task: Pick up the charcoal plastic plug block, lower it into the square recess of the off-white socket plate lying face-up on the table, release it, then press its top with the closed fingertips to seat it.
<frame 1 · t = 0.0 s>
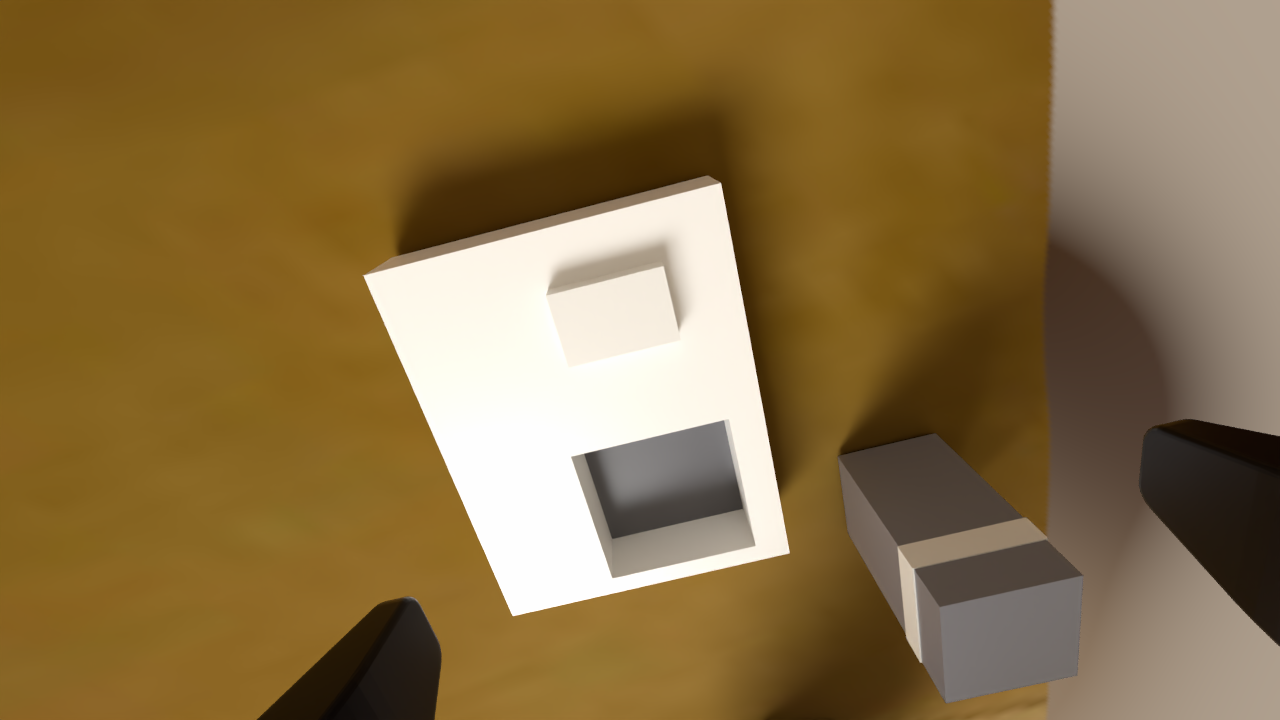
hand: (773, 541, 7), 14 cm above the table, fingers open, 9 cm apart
plug: (890, 484, 25), on the table
socket plate: (602, 398, 22), on the table
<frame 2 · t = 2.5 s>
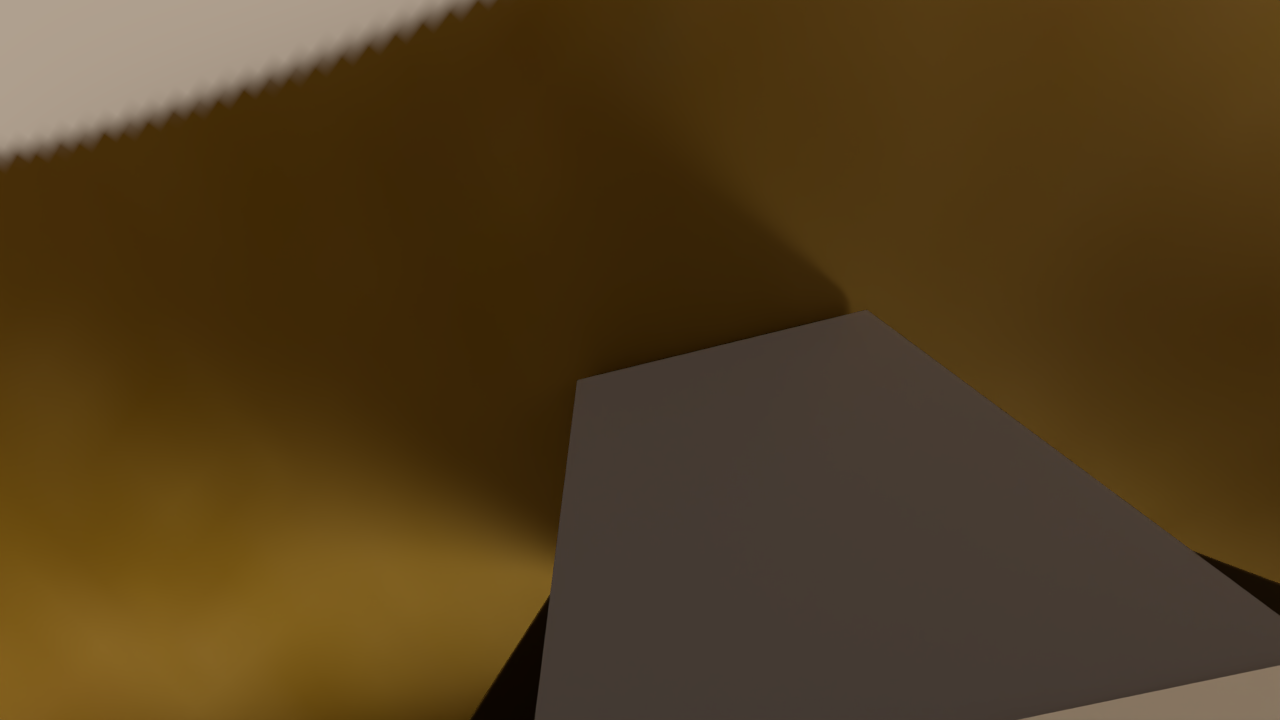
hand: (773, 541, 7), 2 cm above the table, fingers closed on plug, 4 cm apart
plug: (745, 467, 9), on the table, touching gripper
when the fingers open (3 cm above the table, at t = 5.7 s): plug drops 1 cm, resting on socket plate.
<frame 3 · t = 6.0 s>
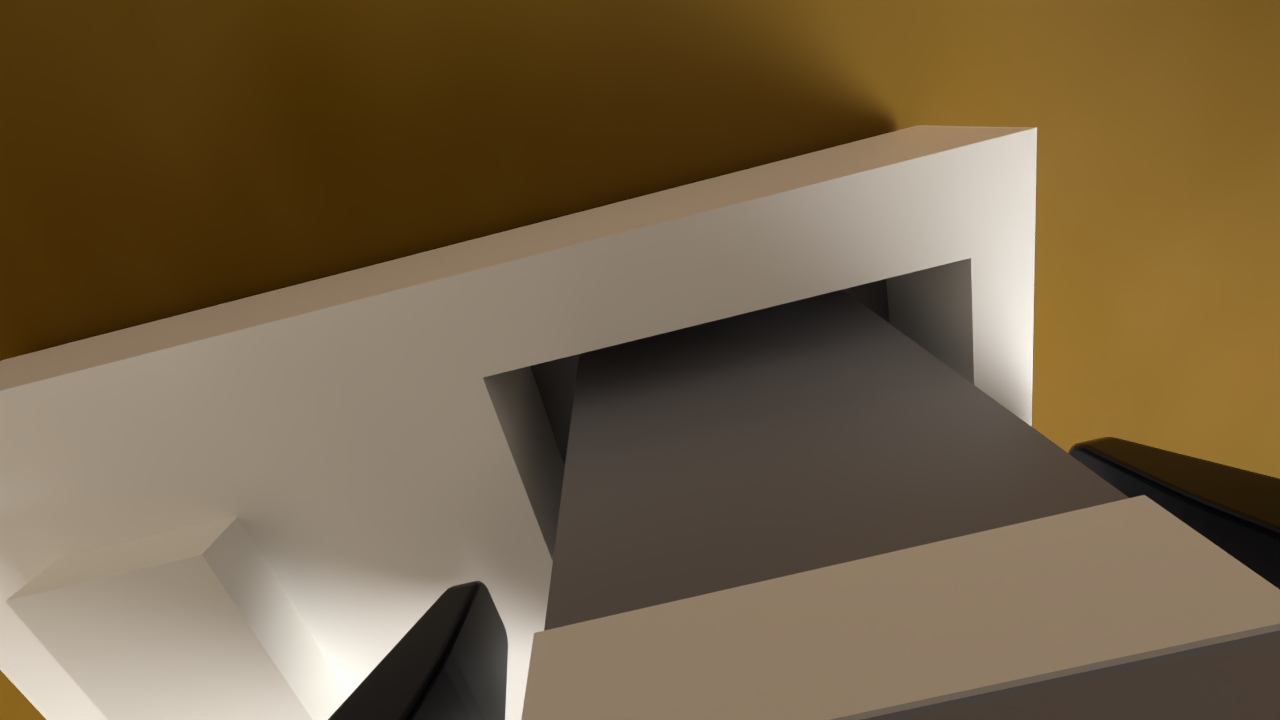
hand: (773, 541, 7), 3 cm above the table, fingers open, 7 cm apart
plug: (730, 427, 10), resting on socket plate
socket plate: (552, 540, 11), on the table
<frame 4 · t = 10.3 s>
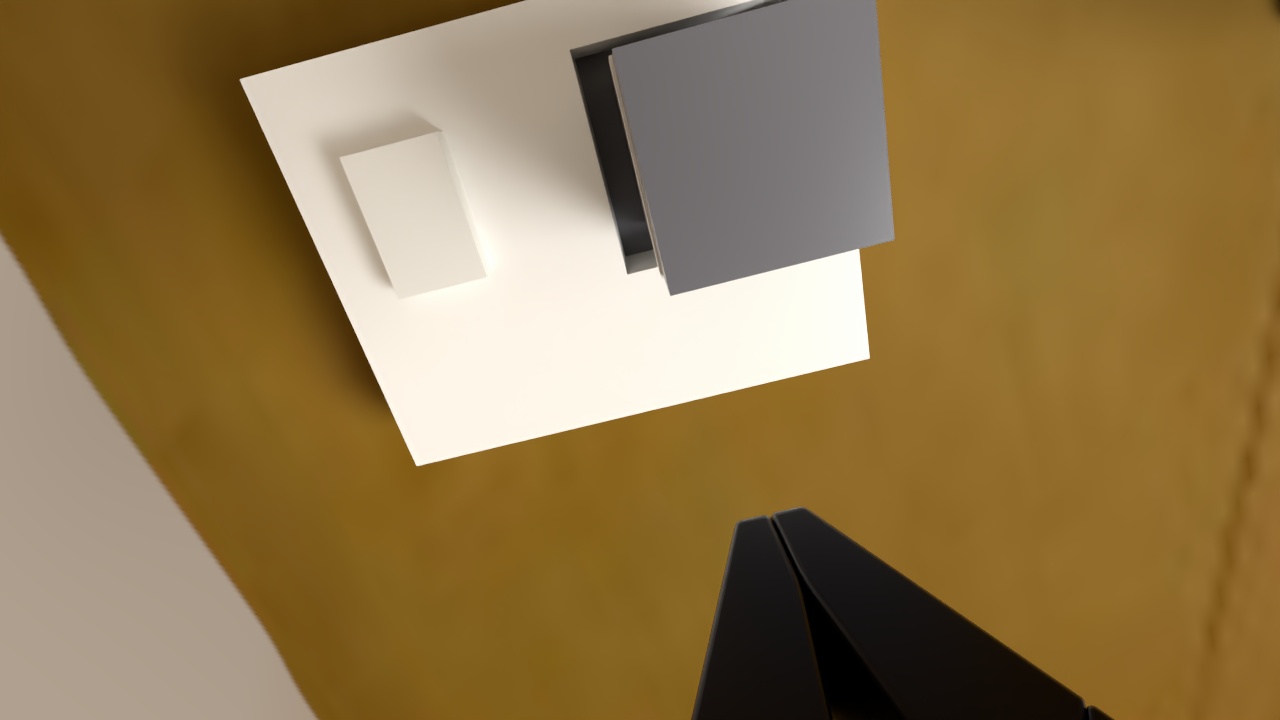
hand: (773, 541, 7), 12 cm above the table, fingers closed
plug: (696, 137, 17), resting on socket plate
socket plate: (592, 219, 18), on the table
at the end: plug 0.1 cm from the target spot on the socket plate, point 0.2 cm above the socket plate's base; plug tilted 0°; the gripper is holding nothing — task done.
